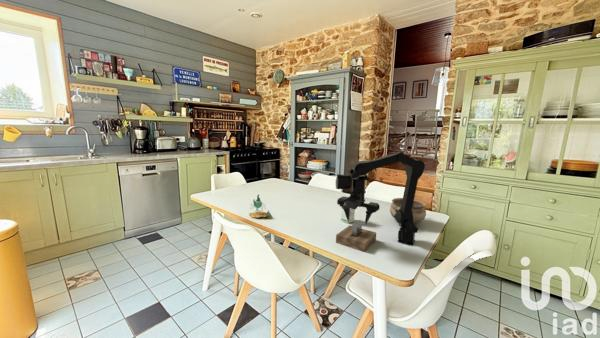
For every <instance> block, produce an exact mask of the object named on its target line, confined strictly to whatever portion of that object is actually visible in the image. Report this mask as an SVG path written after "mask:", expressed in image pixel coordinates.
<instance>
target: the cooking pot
mask: <svg viewBox="0 0 600 338" xmlns="http://www.w3.org/2000/svg"><path fill="white" fill-rule="evenodd" d="M402 200H403V197H396V198H392V199H391V204H390V208H389V213H390V215H391V216H392V217H393V219H395V217H394V216H395V214H396V209H398V210H399V209H400V208H401V206H402ZM412 212H413V217H414V219H413V224H414V225H415V224H418V223H421V222H423V221H424V219H425V218H426V216H427V211H426V203H425V202H423V201H421V200H419V199H415V198H414V202H413V207H412Z"/></svg>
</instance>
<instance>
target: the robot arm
mask: <svg viewBox="0 0 600 338" xmlns="http://www.w3.org/2000/svg"><path fill="white" fill-rule="evenodd" d="M396 163H400V164H401V165H404V166H405V175H406V181H405V186H404V192H403V196H402V198H403V200H402V206H401V208H400V209H399V210H398V209H396V214H395V216H394V217H395V218H394V221H395V222H396V223H397V224H398V227H400V228H399V230H398V232H397V233H398V234H397V239H398V240H397V242H398V243H401V244H403V245H404V244H405V245H408V246H413V245H414V244H415V242H416V239H415V237H416V234H417V233H418V231H419V228H418V227H417V226H416V225H415V224H413V219H414V217H413V212H412V207H413V202H414V199H415V198H416V197H415V196H416V191H417V187H418V182H419V179H420V178H421V177H422V176H423V173H424V171H425V170H426V169H425V168H426V163H424V161H422V160H421V159H417V158H412V157H411V156H408V155H406V154H405V153H403V152H399V151H396V152H394V153H391V154H387V155H385V156H381V157H377V158H374V159H370V160H360V161H359V160H358V161H355V162H353V164H352V165H351V169H350V170H348V172H347V174H341V173H337V174H336V179H335V189H336V190H350V189H351V191H350V193H349V196H350V197H343V196H341V197H339V198H338V199H337V200H336V204H337V205H339V206H340V207H342V208H343V209H344V212H345V215H346V218H347V219H349V213H350V208H352V209H355V210H357V209H358V208H361V207H362V208H365V209H366V211H365V220H364V223H365V225H367V224H368V222H369V220H370V219H371V216H372V215H373V213H376V212H377V211H379V210H380V204H379V203H378V202H373V201H370V202H369V203H365V202H366V198H365V195H366V192H367V191H366V181H370V180H371V178H370V177H369V176H368V175H367V174H369V173H371V172H372V171H374V170H376V169H380V168H383V167H387V166H389V165H392V164H396Z"/></svg>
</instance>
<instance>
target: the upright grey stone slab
mask: <svg viewBox="0 0 600 338" xmlns="http://www.w3.org/2000/svg"><path fill="white" fill-rule="evenodd" d="M351 226H352V234H351V236H354V237H358V236H359V235H360V234H361V233H362V229H363V222H362V221H358V220H356V222H355V221H354V223H353V224H352V225H351Z"/></svg>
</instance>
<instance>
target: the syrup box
mask: <svg viewBox="0 0 600 338" xmlns="http://www.w3.org/2000/svg"><path fill="white" fill-rule="evenodd" d="M342 197H350V195H344V196H342ZM340 207H341V206H340ZM355 210H356V209H352V208H350V213H349V219H347V218H346V215H345V212H344V209H343V208H342V207H341V210H340V221H341V222H343V223H346V224H350V223H353V222H355V213H356V212H355Z"/></svg>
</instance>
